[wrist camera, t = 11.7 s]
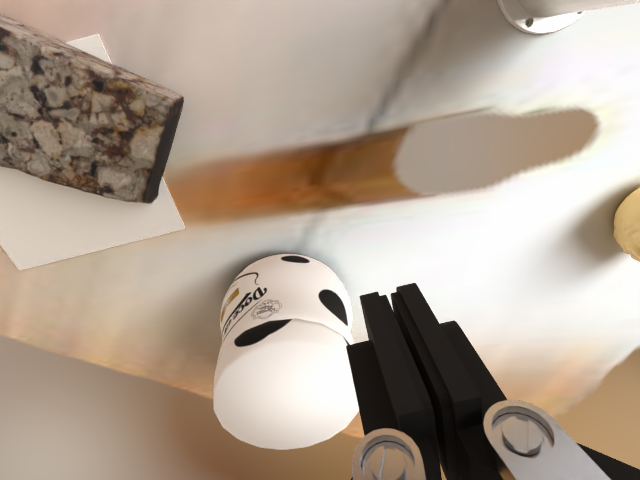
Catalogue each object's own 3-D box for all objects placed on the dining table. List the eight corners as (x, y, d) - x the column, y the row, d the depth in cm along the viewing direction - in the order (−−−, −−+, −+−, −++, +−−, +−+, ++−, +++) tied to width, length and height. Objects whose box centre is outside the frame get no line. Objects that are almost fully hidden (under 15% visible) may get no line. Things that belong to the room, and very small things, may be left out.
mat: (98, 34, 36) (97, 33, 35) (185, 227, 46) (185, 228, 46) (-112, 89, 36) (-115, 89, 36) (20, 269, 46) (19, 270, 46)
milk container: (213, 252, 48) (179, 350, 32) (341, 236, 49) (371, 322, 33) (238, 350, 56) (222, 467, 40) (349, 334, 56) (376, 443, 40)
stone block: (188, 93, 40) (-25, 1, 34) (176, 95, 34) (-89, -17, 28) (158, 199, 44) (-38, 135, 38) (141, 219, 38) (-96, 145, 32)
